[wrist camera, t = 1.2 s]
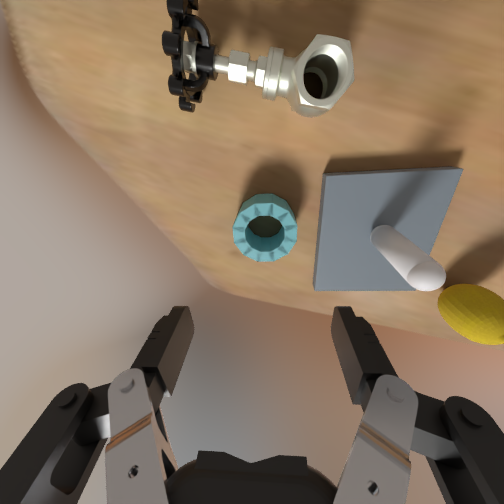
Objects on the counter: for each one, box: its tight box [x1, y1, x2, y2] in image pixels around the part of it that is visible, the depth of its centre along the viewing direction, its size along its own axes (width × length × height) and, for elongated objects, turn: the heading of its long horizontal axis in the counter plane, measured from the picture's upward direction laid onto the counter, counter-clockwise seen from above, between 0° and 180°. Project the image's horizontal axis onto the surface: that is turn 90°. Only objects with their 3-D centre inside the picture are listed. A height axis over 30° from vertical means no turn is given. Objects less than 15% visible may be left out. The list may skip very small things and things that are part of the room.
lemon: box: [438, 284, 504, 345], centre depth 24 cm, size 6×6×8 cm
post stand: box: [313, 166, 463, 291], centre depth 20 cm, size 12×14×10 cm
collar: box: [233, 193, 297, 262], centre depth 23 cm, size 6×6×4 cm
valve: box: [162, 0, 354, 117], centre depth 16 cm, size 7×7×12 cm
